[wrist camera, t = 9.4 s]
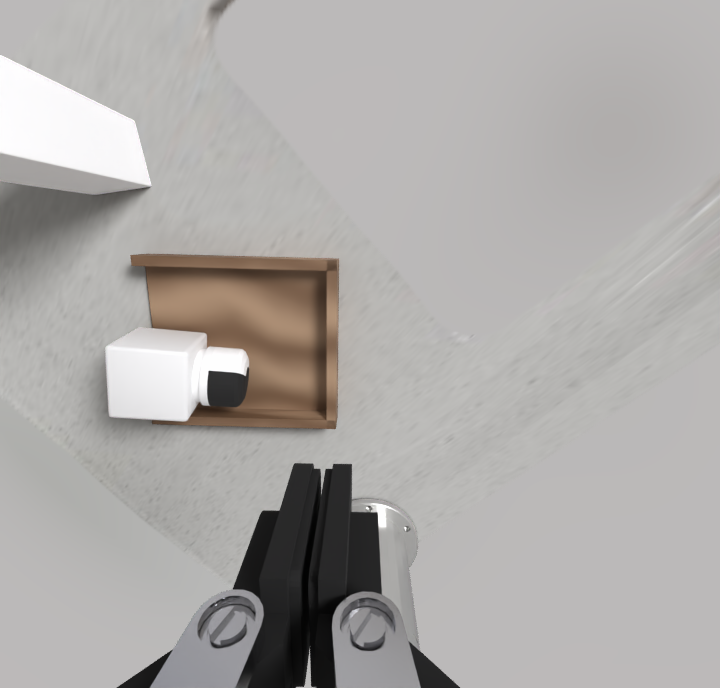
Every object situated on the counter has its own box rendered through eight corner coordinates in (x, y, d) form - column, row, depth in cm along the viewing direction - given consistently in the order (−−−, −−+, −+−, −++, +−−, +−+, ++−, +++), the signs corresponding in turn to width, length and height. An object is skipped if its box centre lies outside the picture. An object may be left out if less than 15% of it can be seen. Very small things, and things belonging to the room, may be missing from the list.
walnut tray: (337, 417, 46) (335, 428, 43) (165, 412, 46) (152, 424, 43) (338, 258, 41) (337, 260, 38) (146, 253, 41) (130, 255, 38)
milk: (135, 120, 38) (-157, -29, 16) (153, 187, 39) (-93, 131, 18) (74, 130, 38) (-293, -5, 17) (94, 196, 39) (-218, 151, 18)
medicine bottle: (139, 388, 44) (250, 395, 45) (107, 418, 37) (239, 426, 38) (137, 325, 42) (253, 336, 43) (102, 345, 35) (242, 357, 36)
